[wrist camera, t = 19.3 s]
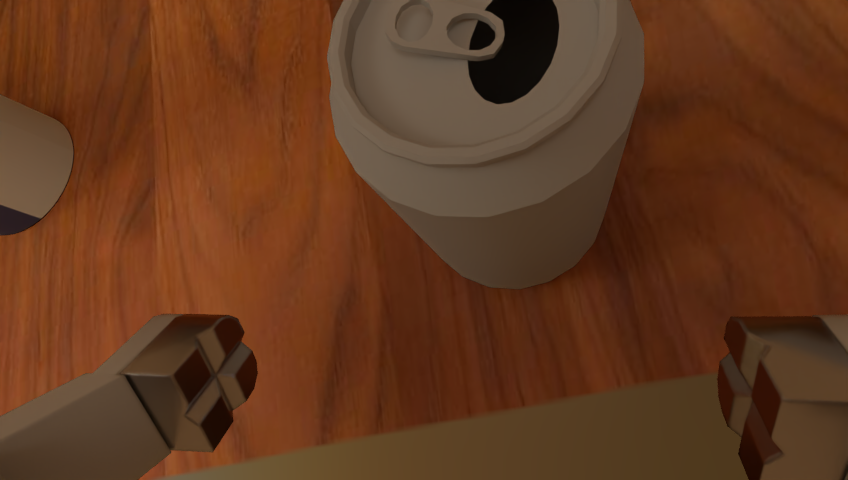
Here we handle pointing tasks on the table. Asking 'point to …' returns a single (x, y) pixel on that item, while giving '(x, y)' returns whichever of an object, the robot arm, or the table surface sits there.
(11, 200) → the water bottle
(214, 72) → the table surface
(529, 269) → the can
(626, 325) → the table surface
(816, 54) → the table surface
